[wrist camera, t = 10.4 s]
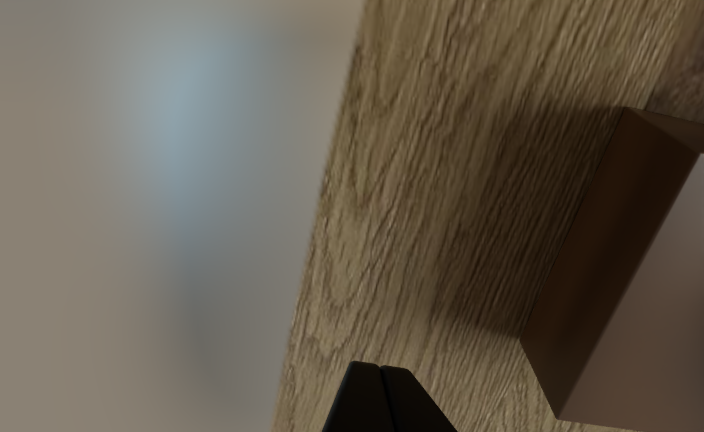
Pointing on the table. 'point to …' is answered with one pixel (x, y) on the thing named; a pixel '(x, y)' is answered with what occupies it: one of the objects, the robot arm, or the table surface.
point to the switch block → (630, 287)
